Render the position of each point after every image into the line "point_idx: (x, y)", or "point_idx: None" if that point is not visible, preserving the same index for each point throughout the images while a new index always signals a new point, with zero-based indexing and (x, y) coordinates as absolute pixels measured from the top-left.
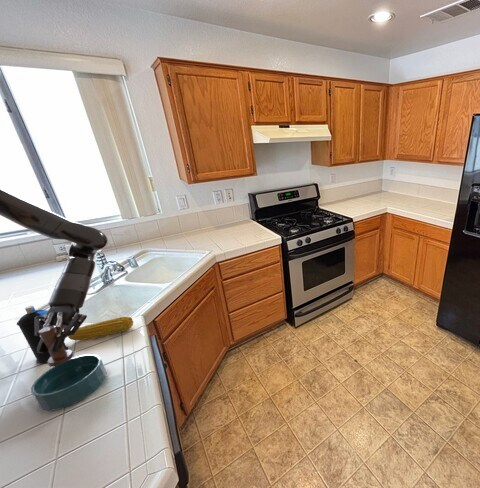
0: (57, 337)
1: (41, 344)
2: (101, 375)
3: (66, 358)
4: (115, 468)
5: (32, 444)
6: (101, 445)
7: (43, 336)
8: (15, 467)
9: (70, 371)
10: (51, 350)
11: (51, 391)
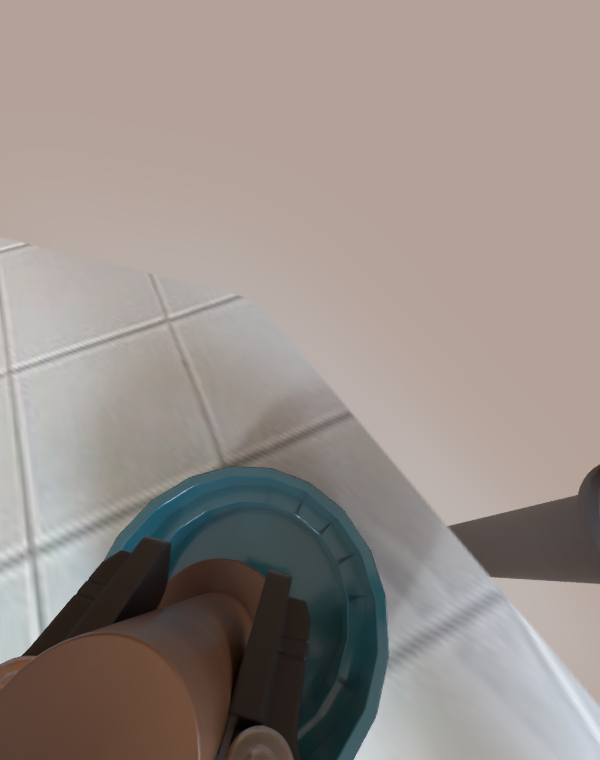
0: None
1: (255, 629)
2: None
3: None
4: (25, 265)
5: (257, 376)
6: (68, 322)
7: (144, 618)
8: (257, 325)
9: (299, 722)
10: (149, 538)
11: (341, 607)
